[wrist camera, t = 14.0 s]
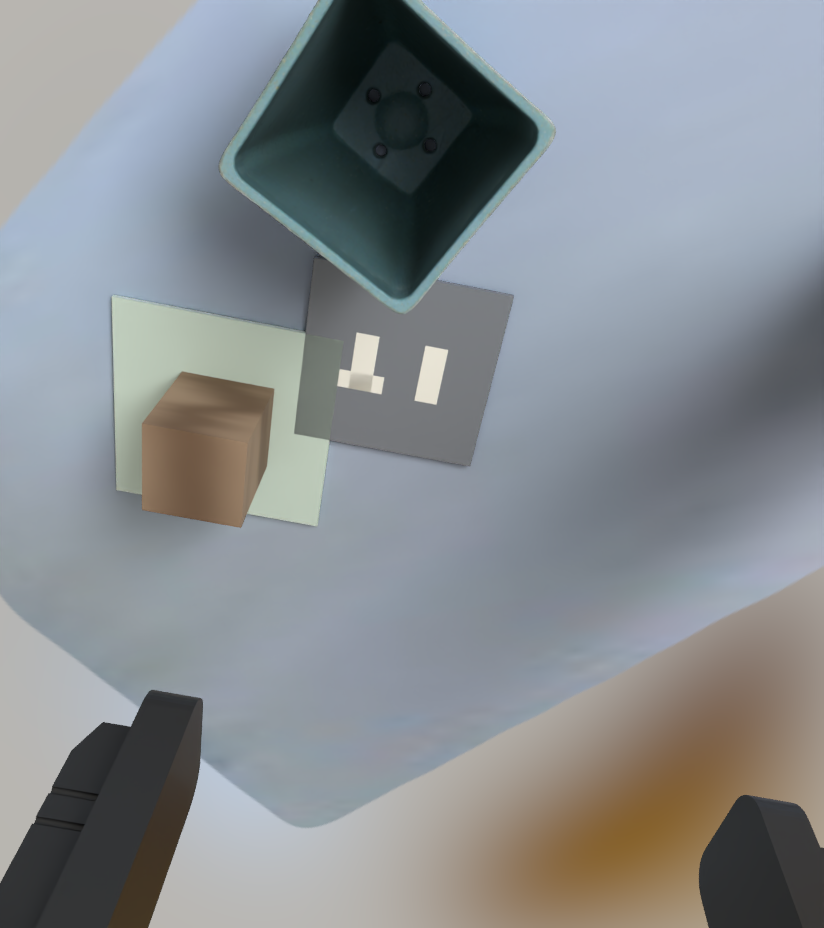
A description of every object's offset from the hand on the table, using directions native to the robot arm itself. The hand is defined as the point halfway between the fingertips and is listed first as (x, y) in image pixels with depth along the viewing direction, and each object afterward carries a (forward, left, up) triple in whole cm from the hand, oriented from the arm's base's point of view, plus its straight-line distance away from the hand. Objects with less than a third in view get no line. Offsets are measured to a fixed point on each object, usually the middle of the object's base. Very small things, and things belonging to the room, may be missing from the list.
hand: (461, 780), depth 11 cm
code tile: (+2, +7, -30) cm, 31 cm away
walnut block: (+11, +12, -30) cm, 34 cm away
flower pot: (+4, -5, -30) cm, 31 cm away
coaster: (+11, +12, -30) cm, 34 cm away
